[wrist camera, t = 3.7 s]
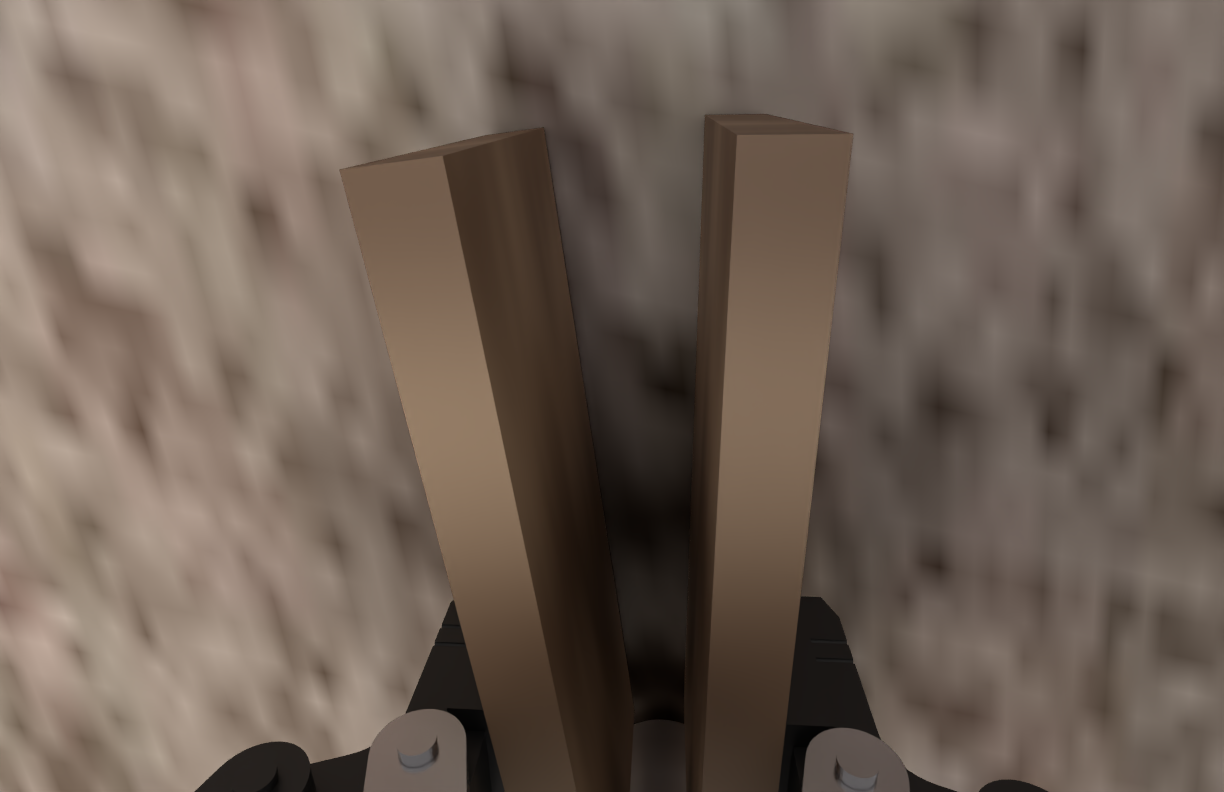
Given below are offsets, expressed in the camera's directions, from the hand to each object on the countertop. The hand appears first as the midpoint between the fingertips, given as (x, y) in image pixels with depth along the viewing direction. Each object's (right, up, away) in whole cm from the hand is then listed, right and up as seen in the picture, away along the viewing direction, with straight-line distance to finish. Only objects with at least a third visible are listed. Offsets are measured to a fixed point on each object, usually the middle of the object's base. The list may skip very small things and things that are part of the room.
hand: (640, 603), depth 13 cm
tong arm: (0, +1, +1) cm, 2 cm away
